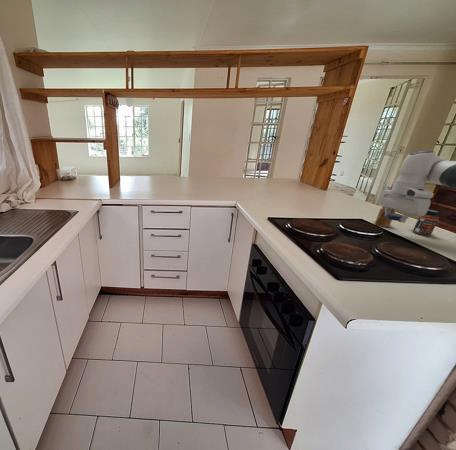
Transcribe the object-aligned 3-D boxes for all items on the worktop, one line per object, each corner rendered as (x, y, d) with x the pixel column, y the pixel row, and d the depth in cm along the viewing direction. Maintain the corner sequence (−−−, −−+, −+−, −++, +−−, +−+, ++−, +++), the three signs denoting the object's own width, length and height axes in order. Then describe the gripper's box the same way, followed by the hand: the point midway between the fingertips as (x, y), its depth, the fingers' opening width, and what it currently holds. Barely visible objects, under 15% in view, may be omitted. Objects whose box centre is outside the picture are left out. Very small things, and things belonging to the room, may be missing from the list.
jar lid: (392, 220, 104) (394, 216, 104) (382, 216, 110) (383, 212, 109) (407, 221, 103) (409, 217, 103) (396, 217, 109) (398, 213, 108)
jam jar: (383, 223, 122) (389, 205, 119) (392, 227, 117) (400, 209, 113) (371, 223, 122) (378, 205, 119) (380, 227, 117) (387, 208, 114)
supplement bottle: (416, 234, 108) (427, 211, 104) (409, 230, 113) (419, 208, 109) (434, 237, 106) (445, 213, 102) (425, 232, 111) (436, 209, 107)
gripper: (379, 184, 112) (369, 212, 117) (421, 194, 93) (407, 226, 97) (393, 185, 111) (382, 213, 116) (438, 195, 92) (423, 227, 97)
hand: (394, 219), depth 107 cm, fingers closed on jar lid, 6 cm apart
